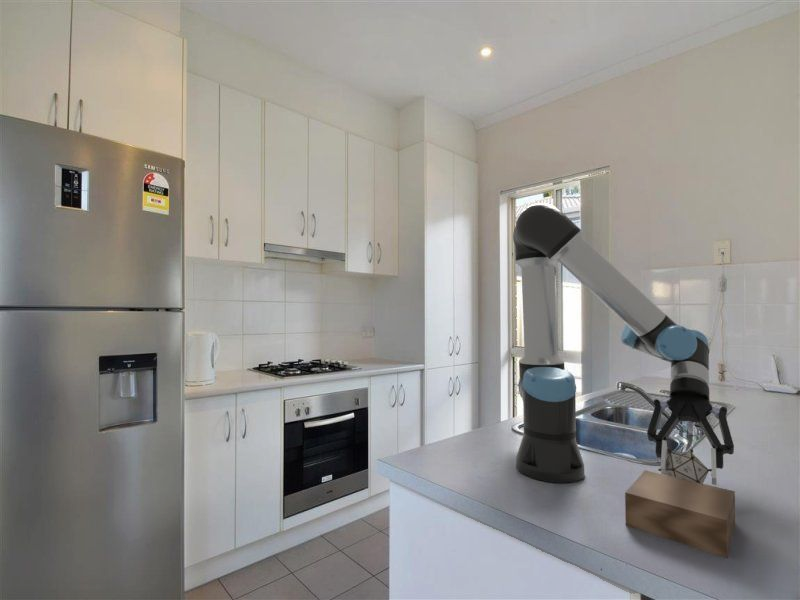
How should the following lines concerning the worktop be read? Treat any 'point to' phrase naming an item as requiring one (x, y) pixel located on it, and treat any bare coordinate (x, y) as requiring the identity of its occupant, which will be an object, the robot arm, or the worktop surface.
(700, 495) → the walnut block
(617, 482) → the worktop surface
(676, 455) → the game die
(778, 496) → the worktop surface
